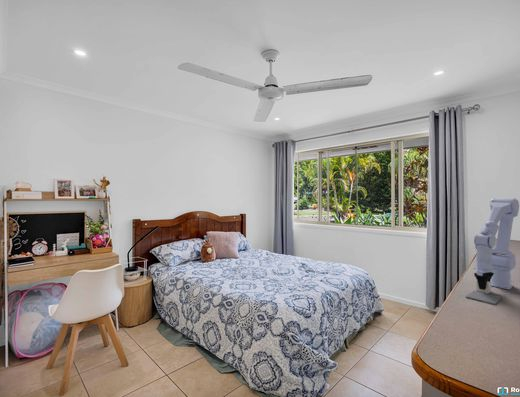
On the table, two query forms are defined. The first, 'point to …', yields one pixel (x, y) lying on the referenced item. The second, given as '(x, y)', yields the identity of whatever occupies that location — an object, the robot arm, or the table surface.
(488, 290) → the cream cube
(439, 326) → the table surface
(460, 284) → the table surface
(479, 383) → the table surface
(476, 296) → the gray mat
